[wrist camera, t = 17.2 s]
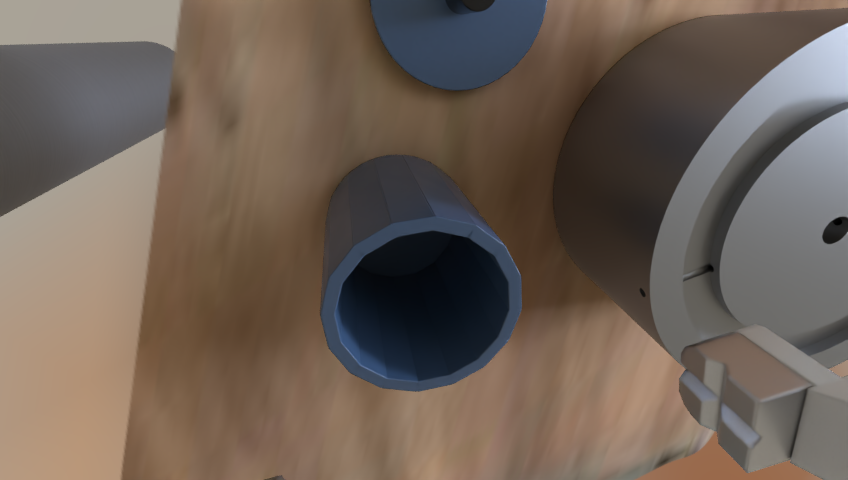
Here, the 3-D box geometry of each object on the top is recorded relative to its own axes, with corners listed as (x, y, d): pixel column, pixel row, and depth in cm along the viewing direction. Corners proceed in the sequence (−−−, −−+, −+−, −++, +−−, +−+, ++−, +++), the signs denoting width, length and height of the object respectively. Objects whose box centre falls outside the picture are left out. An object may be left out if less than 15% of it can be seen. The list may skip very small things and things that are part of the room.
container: (528, 76, 34) (633, 98, 22) (830, -30, 35) (1090, -65, 23) (575, 327, 45) (661, 432, 33) (802, 243, 46) (967, 316, 34)
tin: (341, 291, 39) (343, 408, 27) (313, 166, 34) (300, 238, 22) (466, 268, 40) (523, 369, 28) (457, 144, 35) (520, 201, 23)
